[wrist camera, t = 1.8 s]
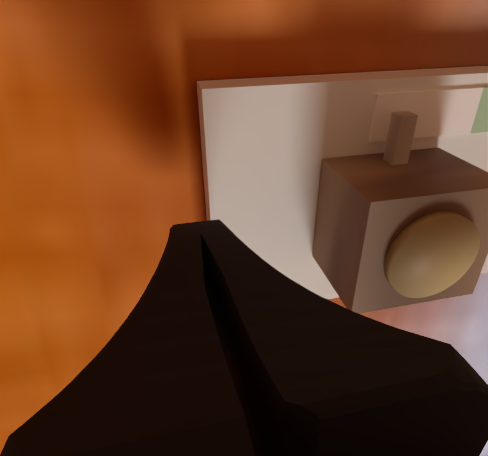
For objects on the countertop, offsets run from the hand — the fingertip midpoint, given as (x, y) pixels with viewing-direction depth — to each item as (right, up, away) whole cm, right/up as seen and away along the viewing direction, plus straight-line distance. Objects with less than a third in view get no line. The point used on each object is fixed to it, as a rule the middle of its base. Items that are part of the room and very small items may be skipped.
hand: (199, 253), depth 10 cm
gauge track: (+7, +2, +4) cm, 9 cm away
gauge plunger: (+6, +2, +2) cm, 6 cm away
